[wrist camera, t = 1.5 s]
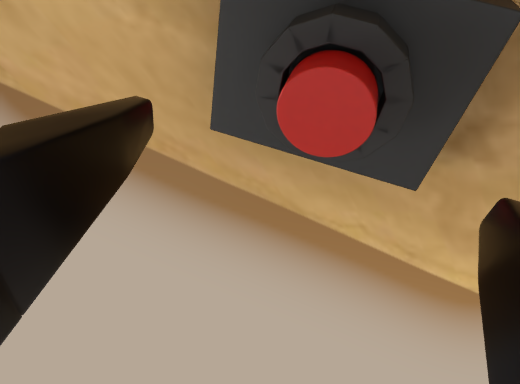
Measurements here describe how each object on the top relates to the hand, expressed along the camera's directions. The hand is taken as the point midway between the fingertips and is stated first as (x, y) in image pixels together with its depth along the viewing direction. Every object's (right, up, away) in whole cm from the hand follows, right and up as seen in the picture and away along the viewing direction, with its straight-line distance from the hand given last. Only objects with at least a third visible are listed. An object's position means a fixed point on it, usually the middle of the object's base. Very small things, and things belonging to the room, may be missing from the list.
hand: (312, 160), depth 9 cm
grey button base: (+3, +6, +11) cm, 14 cm away
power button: (+2, +4, +8) cm, 10 cm away
